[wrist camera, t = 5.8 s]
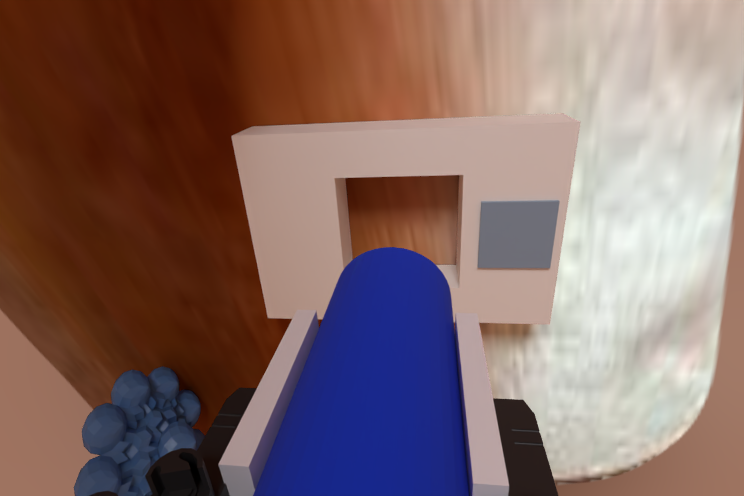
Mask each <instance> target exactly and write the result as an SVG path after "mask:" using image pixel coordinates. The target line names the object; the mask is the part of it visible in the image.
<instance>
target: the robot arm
mask: <svg viewBox="0 0 744 496" xmlns="http://www.w3.org/2000/svg"><path fill="white" fill-rule="evenodd" d="M318 330H319V325H318V318H317V311H316V310H297V311H296V313H295V315H294V317H293V319H292V321H291V323H290V325H289V327H288V328H287V330H286V332H285V334H284V336H283V338H282V340H281V342H280V344H279V346H278V348H277V350H276V352H275V354H274V356H273V358H272V360H271V362H270V364H269V366H268V368H267V370H266V372H265V374H264V376H263V378H262V380H261V382H260V384H259V385H258V387H257V388H239V389H238V390H236V391H235V392H234V393H233V394H232V395H231V396H230V397H229V398H228V399H226V401H225V403H224V405H223V406H222V408H221V410H220V412H219V415H218V416H217V417H216V418H215V420H214V422H213V424H212V427H210V429H209V430H208V432H207V434H206V436H205V437H204V439H203V441H202V443H201V444H200V446H199V448H198V449H197V451H196V450H194V449H192V448H181V449H177V450H174V451H171V452H169V453H167V454H165V455H164V456H162V457H160V458H159V459H158V460H157V461H156V462H155V463H154V464H153V465H152V466H151V467H150V469H149V470H148V472H147V474H146V475H145V478H146V480H147V482H148V485H149V487H150V489H151V492H152V494H153V495H150V496H253V494H254V492H255V489H256V487H257V484H258V482H259V479H260V477H261V474H262V471H263V469H264V466H265V464H266V461H267V459H268V456H269V454H270V451H271V449H272V446H273V444H274V441H275V439H276V436H277V433H278V431H279V428H280V426H281V423H282V421H283V418H284V416H285V413H286V411H287V408H288V406H289V403H290V401H291V398H292V396H293V393H294V390H295V388H296V385H297V383H298V380H299V378H300V375H301V373H302V370H303V368H304V365H305V363H306V360H307V358H308V355H309V352H310V350H311V347H312V345H313V342H314V340H315V337H316V335H317V332H318ZM455 344H456V355H457V366H458V376H459V387H460V398H461V409H462V420H463V431H464V441H465V452H466V463H467V474H468V485H469V495H470V496H558V493H557V490H556V486H555V483H554V479H553V476H552V472H551V469H550V465H549V462H548V459H547V455H546V452H545V448H544V447H543V442H542V438H541V435H540V433H539V428H538V424H537V421H536V418H535V414H534V413H533V412H532V410H531V409H530V408H529V407H528V405H527V404H526V403H525V402H524V400H514V399H493V396H492V390H491V385H490V380H489V374H488V369H487V364H486V358H485V353H484V347H483V342H482V337H481V331H480V326H479V320H478V315H477V313H456V317H455ZM89 496H118V495H117V494H116V493H114V492H111V491H102V492H97V493H94V494H92V495H89Z"/></svg>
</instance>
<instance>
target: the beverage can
mask: <svg viewBox="0 0 744 496" xmlns="http://www.w3.org/2000/svg"><path fill="white" fill-rule="evenodd" d="M253 496H470V495H469V485H468V474H467V463H466V452H465V441H464V431H463V420H462V409H461V398H460V387H459V376H458V366H457V355H456V344H455V331H454V320H453V309H452V299H451V292H450V287H449V285H448V282H447V280H446V278H445V276H444V274H443V273H442V272H441V270H440V269H439V268H438V267H437V266H436V265H435V264H434V263H433V262H432V261H430V260H429V259H427V258H426V257H424V256H423V255H421V254H418V253H416V252H414V251H411V250H407V249H403V248H395V247H386V248H378V249H374V250H371V251H367V252H365V253H363V254H361V255H359V256H357V257H356V258H355V259H353V260H352V261H351V262H350V263H349V264H348V265H347V266H346V267H345V268H344V270H343V271H342V273H341V275H340V277H339V279H338V282H337V284H336V287H335V289H334V292H333V294H332V297H331V299H330V302H329V304H328V307H327V309H326V312H325V314H324V317H323V320H322V322H321V325H320V327H319V330H318V332H317V335H316V337H315V340H314V342H313V345H312V347H311V350H310V352H309V355H308V358H307V360H306V363H305V365H304V368H303V370H302V373H301V375H300V378H299V380H298V383H297V385H296V388H295V390H294V393H293V396H292V398H291V401H290V403H289V406H288V408H287V411H286V413H285V416H284V418H283V421H282V423H281V426H280V428H279V431H278V433H277V436H276V439H275V441H274V444H273V446H272V449H271V451H270V454H269V456H268V459H267V461H266V464H265V466H264V469H263V471H262V474H261V477H260V479H259V482H258V484H257V487H256V489H255V492H254V494H253Z"/></svg>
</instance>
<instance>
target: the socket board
mask: <svg viewBox="0 0 744 496" xmlns="http://www.w3.org/2000/svg"><path fill="white" fill-rule="evenodd" d="M579 128H580V121H577V120H575V119H573V118H571V117H569V116H567V115H565V114H563V113H555V114H532V115H508V116H485V117H462V118H438V119H415V120H392V121H369V122H345V123H322V124H299V125H275V126H252V127H250V128H248V129H245V130H243V131H241V132H239V133H237V134H234V135H232V136H231V137H232V142H233V147H234V152H235V157H236V162H237V167H238V172H239V177H240V182H241V187H242V192H243V197H244V202H245V207H246V212H247V217H248V221H249V226H250V231H251V236H252V241H253V246H254V251H255V256H256V261H257V266H258V271H259V276H260V281H261V286H262V291H263V296H264V301H265V306H266V311H267V316H268V318H283V319H293V317H294V315H295V313H296V311H297V310H316V311H317V318H318V319H323V317H324V314H325V312H326V309H327V307H328V304H329V302H330V299H331V297H332V294H333V292H334V289H335V287H336V284H337V282H338V279H339V277H340V275H341V273H342V271H343V270H344V268H345V267H346V266H347V265H348V264H349V263H350V262H351V261H352V260H353V258H352V247H351V235H350V224H349V213H348V202H347V190H346V179H345V178H357V177H397V176H438V175H459V194H458V226H457V257H456V265H436V266H437V267H438V268H439V269H440V270H441V272H442V273H443V274H444V276H445V278H446V280H447V282H448V285H449V287H450V292H451V299H452V309H453V320H454V322H455V317H456V313H477V315H478V320H479V323H511V324H550V319H551V313H552V306H553V299H554V293H555V286H556V280H557V273H558V266H559V260H560V253H561V246H562V240H563V233H564V227H565V220H566V213H567V207H568V200H569V194H570V187H571V180H572V174H573V167H574V161H575V154H576V147H577V141H578V134H579Z"/></svg>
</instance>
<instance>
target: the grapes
mask: <svg viewBox="0 0 744 496" xmlns="http://www.w3.org/2000/svg"><path fill="white" fill-rule="evenodd" d="M111 401H112V404H109V403H105V404H103V405H100V406H97V407H96V408H95V409H94V410H93V411H92V412H91V413H90V414H89V415H88V417H87V419H86V421H85V424H84V426H83V429H82V438H83V443H84V447H85V448H86V449H87V450H88V451H89V452H90V453H92V454H97V455H100V456H98V457H95V458H93V459H91V460H89V461H88V462H87V463H86V464H85V466H84V467H83V468H82V469H81V470H80V473H79V475H78V478H77V480H76V483H75V486H74V491H75V496H89V495H92V494H94V493H97V492H102V491H111V492H114V493H116V494H117V495H118V496H150V495H153V494H152V492H151V489H150V487H149V485H148V482H147V480H146V478H145V475H146V474H147V472H148V470H149V469H150V467H151V466H152V465H153V464H154V463H155V462H156V461H157V460H158V459H159V458H160V457H162V456H164V455H165V454H167V453H169V452H171V451H174V450H177V449H181V448H192V449H194V450H196V451H197V449H198V448H199V446H200V444H201V443H202V441H203V439H204V437H205V435H204V434H203V433H202V432H201V431H200V430H198V429H193V428H192V427H193V426H194V425H195V423H196V422H197V421H198V418H199V415H200V410H201V404H200V401H199V399H198V397H197V396H196V395H195V394H194V393H193V392H192V391H189V390H185V389H184V390H181V391H179V379H178V377H177V375H176V374H175V373H174V372H173V371H172V370H171V369H170V368H166V367H163V366H162V367H159V368H157V369H154V370H153V371H152V372H151V373H150V374H149V375H148V377H146V376H145V375H144V374H143V373H142V372H141V371H137V370H130V371H127V372H124V373H123V374H122V375H121V376H120V377H119V378H118V379H117V380H116V382H115V384H114V387H113V389H112V392H111Z"/></svg>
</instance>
